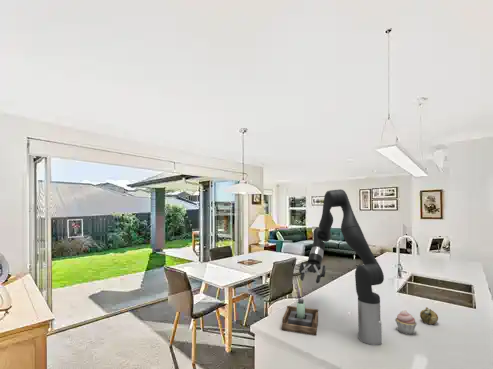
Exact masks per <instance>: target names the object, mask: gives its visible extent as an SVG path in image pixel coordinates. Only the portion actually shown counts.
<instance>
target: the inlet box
mask: <svg viewBox="0 0 493 369" xmlns="http://www.w3.org/2000/svg"><path fill="white" fill-rule="evenodd" d="M281 320H282V323H281V331H285V332H286V331H287V332H291V333H296V334H298V333H299V334H305V335H310V336H317V334H318V326H319V309H316V308H310V307H308V308H307V307H305V319H299V318H297V306H293V305H286V309H285V312H284V314H283V316H282V319H281Z"/></svg>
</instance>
